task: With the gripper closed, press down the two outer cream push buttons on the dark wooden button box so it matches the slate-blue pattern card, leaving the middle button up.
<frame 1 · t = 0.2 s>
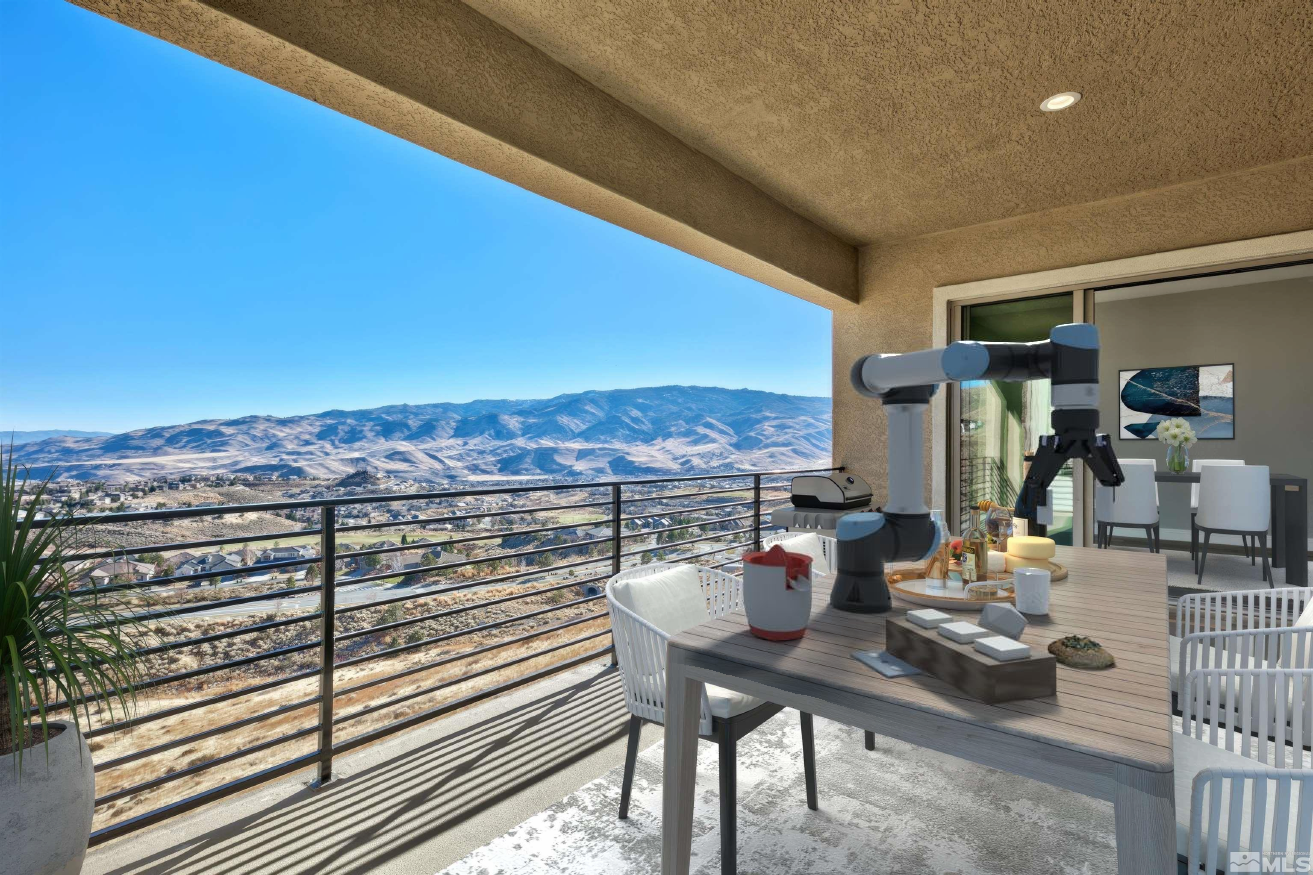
hand: (1075, 522, 116), 28 cm above the table, fingers open, 13 cm apart
citrus juicer: (780, 635, 139), on the table
middle button: (963, 635, 117), point 7 cm above the table, slide at 0.0 cm
button box: (963, 669, 118), on the table
pattern card: (884, 663, 121), on the table
white cup: (1031, 611, 155), on the table
die: (1002, 641, 134), on the table
outer button: (1001, 651, 109), point 7 cm above the table, slide at 0.0 cm
bread roll: (1080, 661, 123), on the table
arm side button: (929, 621, 126), point 6 cm above the table, slide at 0.0 cm
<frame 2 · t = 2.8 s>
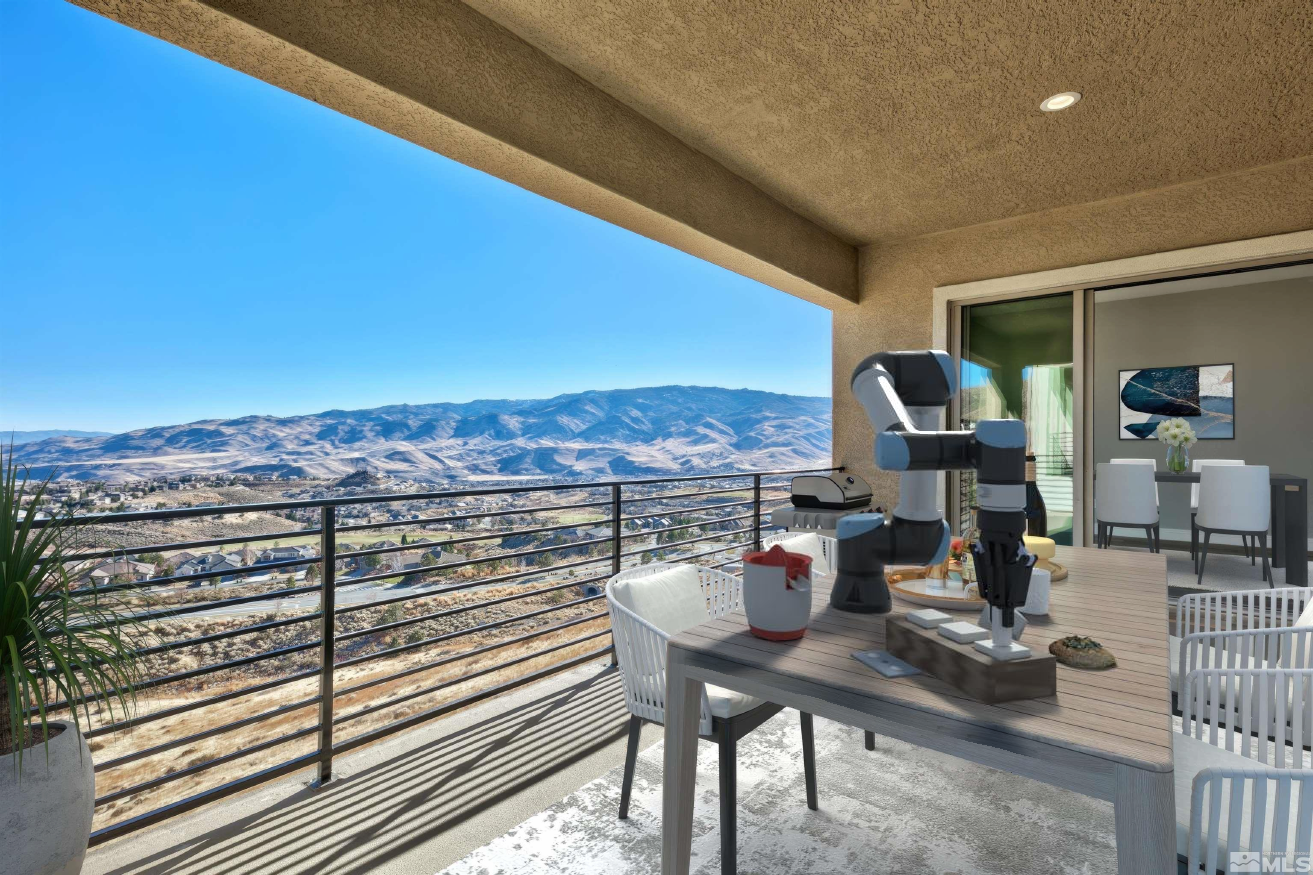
hand: (1002, 643, 109), 8 cm above the table, fingers closed
outer button: (1001, 653, 109), point 6 cm above the table, slide at 0.4 cm, touching gripper
everything else where it was.
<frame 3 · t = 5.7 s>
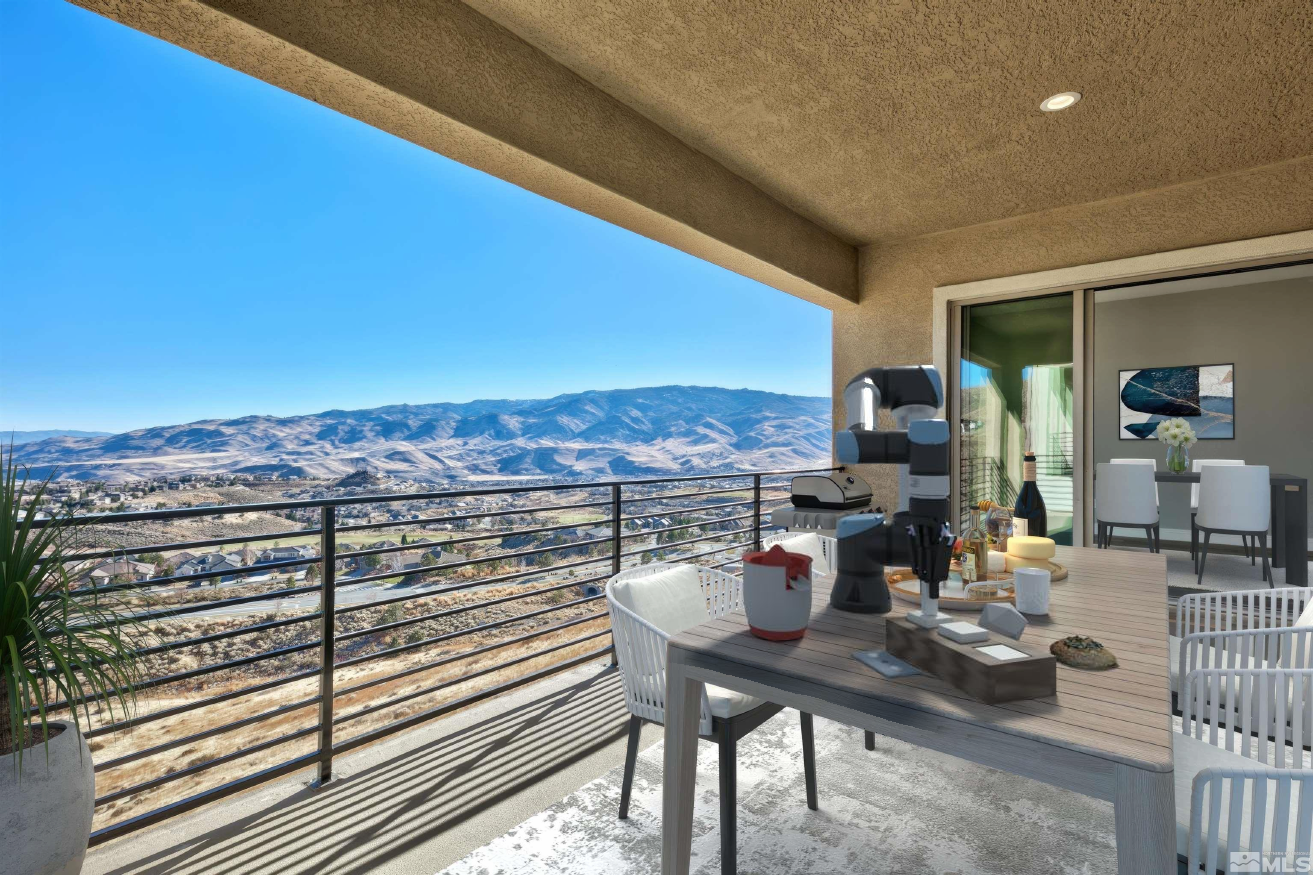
hand: (929, 613, 126), 8 cm above the table, fingers closed
outer button: (1001, 660, 109), point 5 cm above the table, slide at 1.6 cm
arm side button: (929, 621, 126), point 6 cm above the table, slide at 0.1 cm, touching gripper
everything else where it was.
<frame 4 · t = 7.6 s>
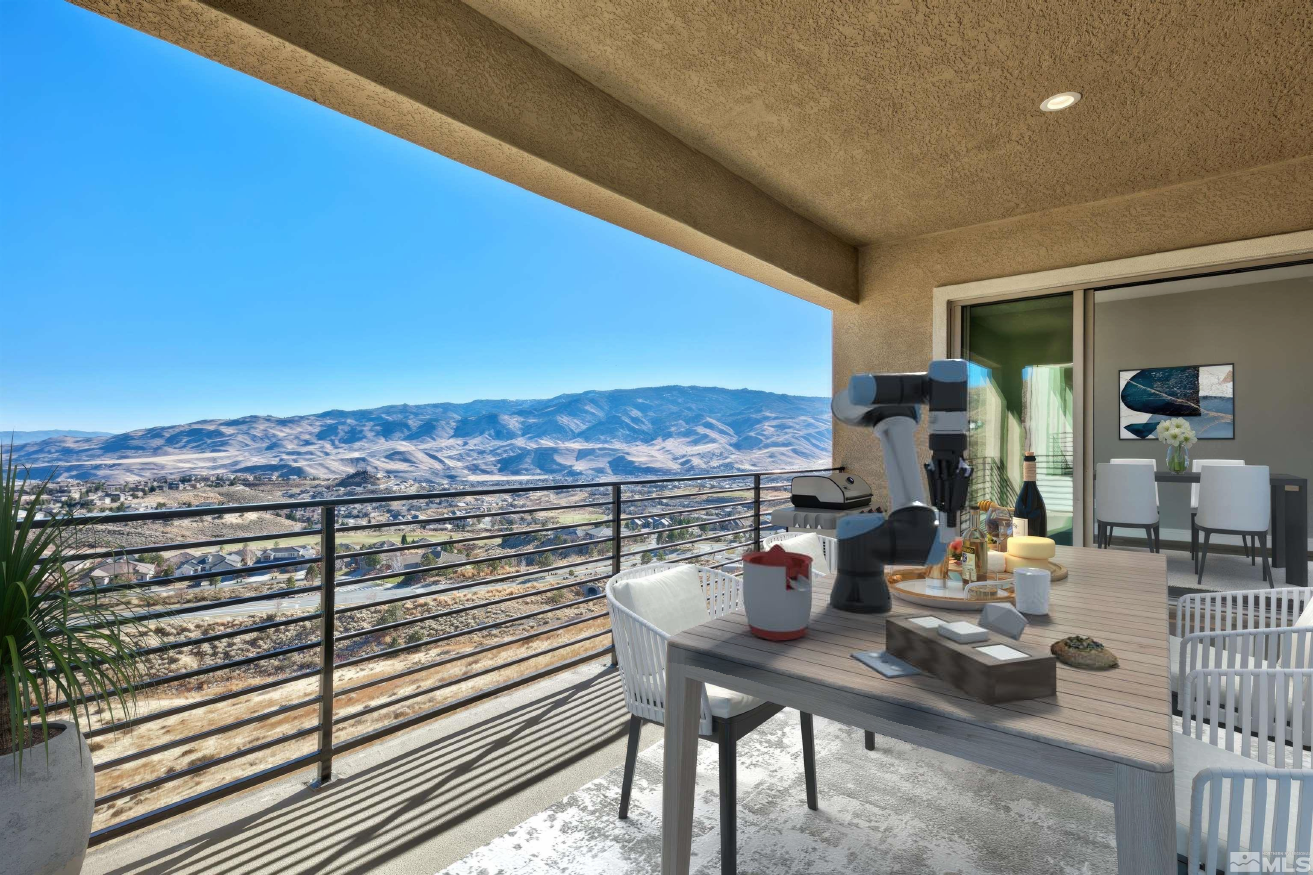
hand: (947, 541, 135), 21 cm above the table, fingers closed
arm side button: (929, 629, 126), point 5 cm above the table, slide at 1.6 cm
everything else where it was.
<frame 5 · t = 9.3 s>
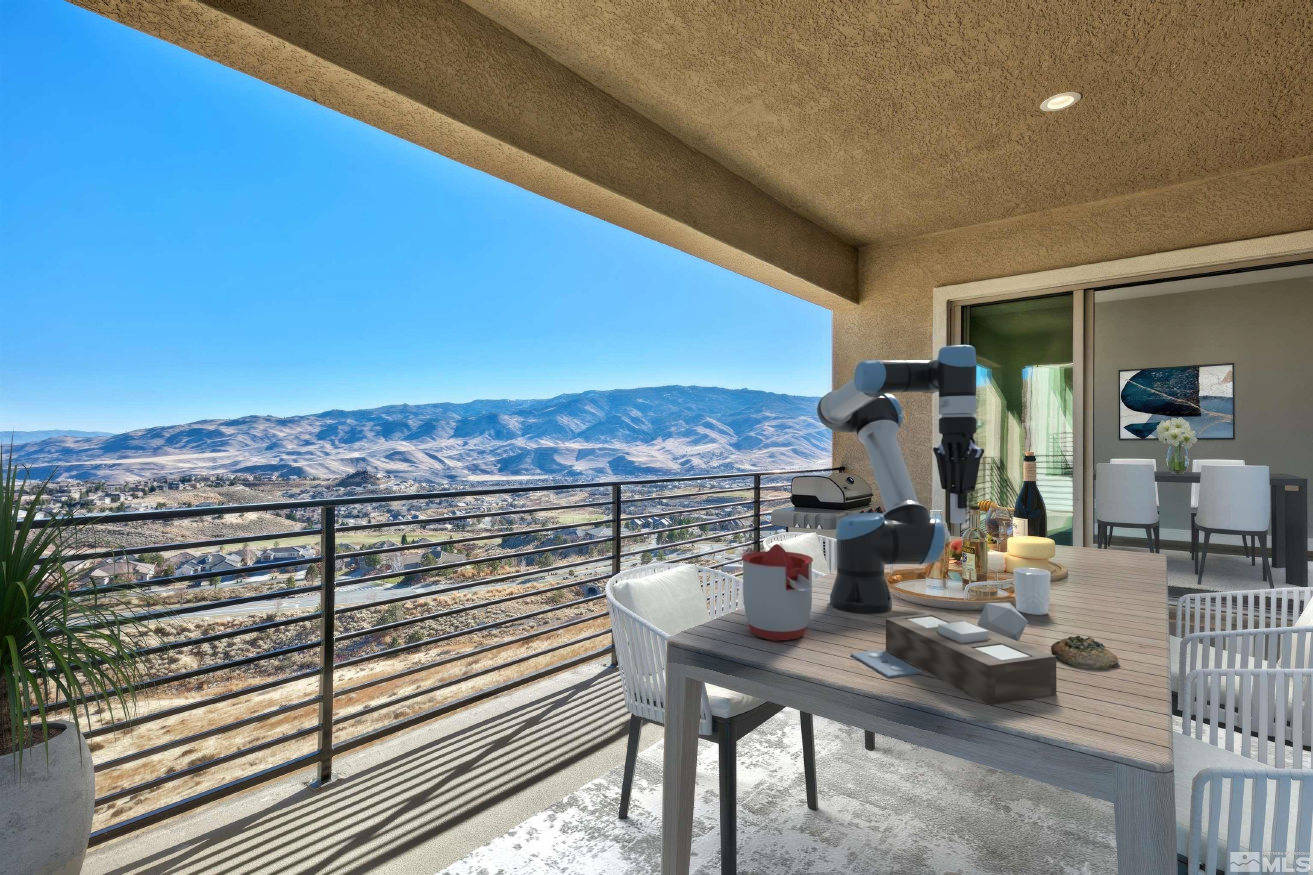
hand: (957, 522, 139), 24 cm above the table, fingers closed
nothing on the table moved.
at the end: outer button slide at 1.6 cm; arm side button slide at 1.6 cm; middle button slide at 0.0 cm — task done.
